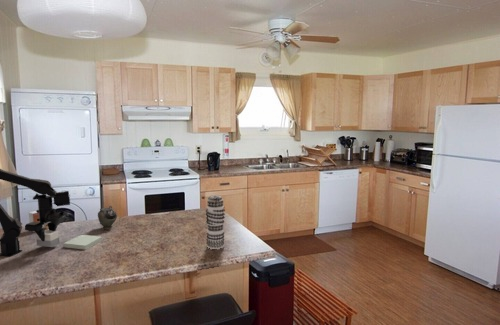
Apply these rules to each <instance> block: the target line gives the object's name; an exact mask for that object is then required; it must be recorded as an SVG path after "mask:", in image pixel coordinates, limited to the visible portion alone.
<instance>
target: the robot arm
mask: <svg viewBox="0 0 500 325" xmlns="http://www.w3.org/2000/svg"><path fill="white" fill-rule="evenodd" d="M0 180H2V181H4V182H8V183H12V184H15V185H18V186H22V187H25V188H28V189H29V190H32V191H33V192H35V195H33V196H32V200H37V206H38V207H37V210H35V211H36V212H37V213H39V218H38V219H37V221H40V222H31V223H30V222H29V223H26V224H25V225H24V231H29V232H33V231H35V232H34V233H35V234H36V233H37V235H38V236H39V238H40V239H41V240H42V241H45V230H47V229H46V228H44V225H45V224H48V228H49V229H48V230H51V231H57V228H58V227H59V225H60V224H62V223H64V221H66V220H67V212H66V211H65V210H64V211H60V212H57V211H56V208H55V207H53V205H55V206H56V207H62V206H71V198H70V194H69V193H70V191H69V190H66V191H56V190H55V189H54V188H53V187H52V183H51V182H50V181H49V180H46V179H39V178H38V179H37V178H30V177H27V176H24V175H19V174H17V173H13V172H10V171H7V170H4V169H3V168H0ZM44 222H45V223H44ZM0 225H1V229H2V231H3V233H2V234H1V236H0V256H4V257H12V256H15V255H16V254H19V253H21V252H23V249H21V247H20V240H19V236H20V235H21V232H22V229H23V226H22V225H23V223H22V222H20V220H19V218H18V217H17V216H16V217H14V218H13V217H12V216H11V215H9V213H8V212H7V211H6V209H5V208H4V206H2V204H1V203H0Z"/></svg>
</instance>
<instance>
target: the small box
mask: <svg viewBox="0 0 500 325" xmlns="http://www.w3.org/2000/svg"><path fill="white" fill-rule="evenodd" d="M38 218H39V213H37V212H36V210H33V211H29V212H28V219H29V223H31V222H40V221H37V219H38ZM44 223H45V222H44ZM44 228H46V230H49V228H48V224H45V225H44ZM32 232H33V233H36V232H35V231H32Z"/></svg>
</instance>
